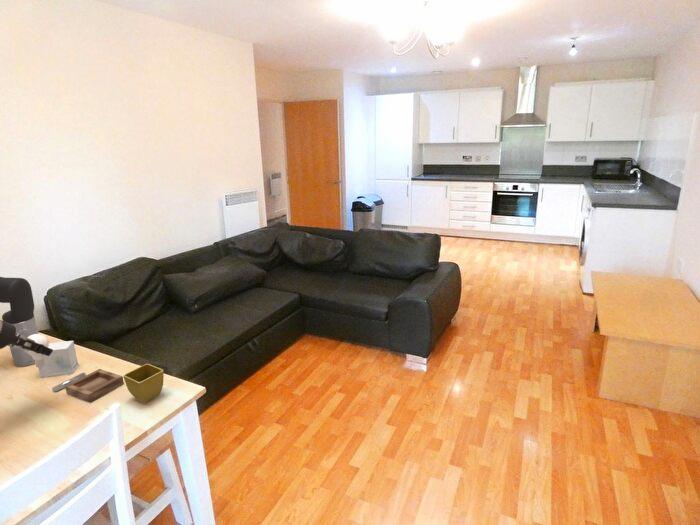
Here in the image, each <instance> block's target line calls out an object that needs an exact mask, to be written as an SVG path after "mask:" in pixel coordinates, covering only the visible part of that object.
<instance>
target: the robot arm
mask: <svg viewBox="0 0 700 525" xmlns="http://www.w3.org/2000/svg"><path fill="white" fill-rule="evenodd" d="M33 296H34V294H33V290H32V286H31V284H30V283H29V281H28V280H27V279H26V278H23V277H3V276H0V303H2V304H9V306H10V307H9V308H10V310H8V311H6V312H4V313H3V314H2V316H1V319H0V350H2V349H5V348H6V347H7V346H8V347H9V349H10V354H11V357H12V361H13V364H14V366H15V367H18V368H19V367H21V368H22V367H27V366H32V365H35V361H34V359H33V358H32V356H31V355H29V354H28V353H26V352H25V351H30V350H31V351H34V352H35V353H41V354H44V355H46V356H50V354H51V353H52V351H53V349H50V348H47V347H45V346H44V345H42V344H38V343H35V341H34V340H32V339H29V338H27V337H28V336H30V335H33V334H40V333H39V330H38V325H37V322H36V318H35V317H36V316H35V314H34V313H35V312H34V311H35V303H34V297H33ZM25 339H26V340H25ZM24 350H25V351H24Z"/></svg>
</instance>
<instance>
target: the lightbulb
mask: <svg viewBox="0 0 700 525" xmlns="http://www.w3.org/2000/svg"><path fill="white" fill-rule="evenodd" d="M27 338H29V339H32V340H34V341H35V343H38V344H42V345H44V346H45V347H47V348H48V345H49V343H50V341H49V338H48V337H47V336H46V335H44V334H40V333H39V334H33V335H30V336H28V337H27ZM25 340H26V339H25ZM24 351H25V350H24ZM25 352H26V353H28V354H29V355H31V356H32V358H33V359H34V361H35V364H34V365H35V367H36V368H37V369H38V368H42V367H44V366H45V365H46V361H45V355H44V354H41V353H35V352H34V351H31V350H30V351H25Z"/></svg>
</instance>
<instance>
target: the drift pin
mask: <svg viewBox="0 0 700 525" xmlns="http://www.w3.org/2000/svg"><path fill="white" fill-rule="evenodd" d="M86 375H87V373H86V372H81V373H79V374H78V375H77V374H76V375H75V376H73V377H71V378H69V379H67V380H65V381H63V382H61V383H58V384H57V385H55V386H52V388H51V390H52V392H54V393H57V392H58V391H61V390H62V389H66V388H65V386H67V385H68V384H70V383H72V382H74V381H76V380H78V379H80V378H82V377H84V376H86Z"/></svg>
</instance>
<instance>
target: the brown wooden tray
mask: <svg viewBox="0 0 700 525" xmlns="http://www.w3.org/2000/svg"><path fill="white" fill-rule="evenodd" d="M123 385H125V380H124V377H123V376H122V375H121V374H116V373H113V372H110V371H108V370H104V369H101V368H98V369H96V370H95V371H93V372H91V373H88V374H86V376H84V377H82V378H80V379H78V380H76V381H74V382H72V383H70V384H68V385H67V386H65V388H64V389H65V391H66V392H65V393H66V395H68V396H70V397H73V398H75V399H78V400H81V401H83V402H86V403H89V404H91V403H93V402H94V401H97V400H99V399H100V398H102V397H104V396H105V395H107V394H109V393H111V392H112V391H115V390H116V389H118V388H119V386H120V387H121V386H123ZM117 387H118V388H117Z"/></svg>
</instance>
